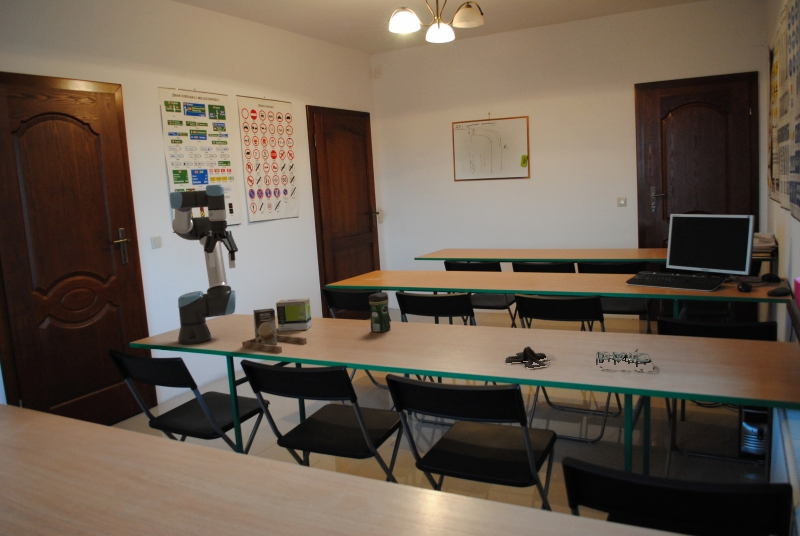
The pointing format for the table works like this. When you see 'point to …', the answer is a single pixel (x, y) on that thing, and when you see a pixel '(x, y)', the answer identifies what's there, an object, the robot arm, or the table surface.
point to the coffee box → (265, 326)
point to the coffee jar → (379, 312)
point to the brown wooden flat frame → (272, 348)
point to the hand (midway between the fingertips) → (222, 267)
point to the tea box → (294, 314)
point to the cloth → (527, 358)
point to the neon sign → (642, 361)
